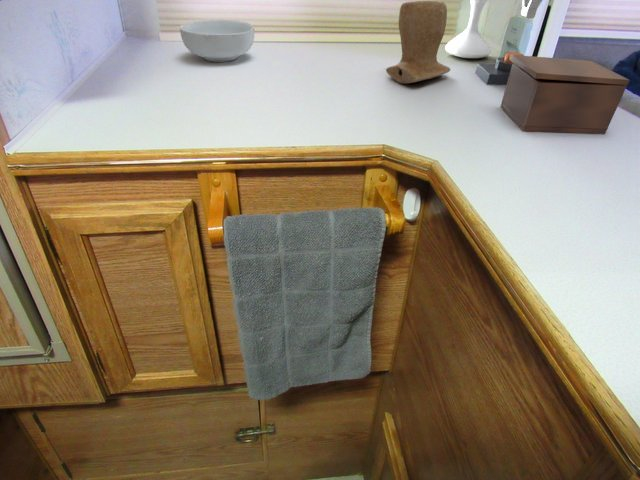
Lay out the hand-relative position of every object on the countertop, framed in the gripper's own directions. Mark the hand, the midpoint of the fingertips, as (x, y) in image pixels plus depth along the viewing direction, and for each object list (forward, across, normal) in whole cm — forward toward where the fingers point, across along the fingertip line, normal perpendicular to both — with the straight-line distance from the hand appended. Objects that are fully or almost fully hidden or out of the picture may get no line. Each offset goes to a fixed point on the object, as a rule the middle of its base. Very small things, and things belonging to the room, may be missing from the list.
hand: (527, 17), depth 86 cm
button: (+9, 0, 0) cm, 9 cm away
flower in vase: (+13, -22, -4) cm, 25 cm away
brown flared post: (+12, 0, -22) cm, 25 cm away
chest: (+12, +24, -1) cm, 27 cm away
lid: (+4, +24, -2) cm, 25 cm away
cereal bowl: (+12, -10, -66) cm, 68 cm away
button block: (+12, 0, 0) cm, 13 cm away
